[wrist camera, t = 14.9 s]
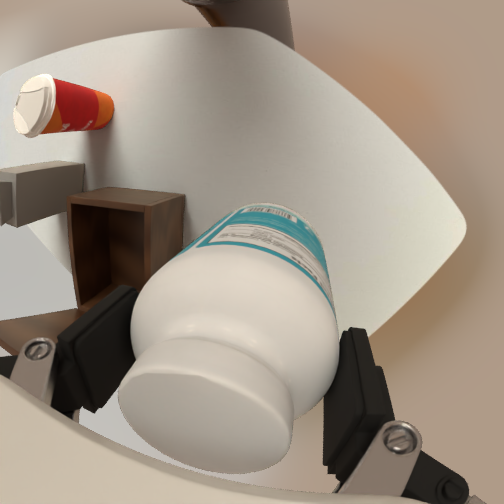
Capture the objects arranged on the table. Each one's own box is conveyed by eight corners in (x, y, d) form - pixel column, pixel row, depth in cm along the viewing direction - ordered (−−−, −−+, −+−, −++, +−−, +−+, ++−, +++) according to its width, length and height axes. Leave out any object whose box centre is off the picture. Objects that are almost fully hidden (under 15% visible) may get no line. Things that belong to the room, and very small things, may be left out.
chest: (108, 186, 37) (66, 196, 29) (185, 194, 35) (151, 205, 27) (111, 284, 42) (77, 309, 34) (181, 302, 40) (153, 335, 32)
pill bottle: (239, 319, 21) (167, 485, 8) (193, 226, 19) (36, 340, 6) (340, 288, 18) (367, 478, 6) (299, 181, 17) (279, 257, 4)
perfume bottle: (81, 206, 39) (-10, 237, 22) (55, 200, 40) (-29, 227, 23) (84, 163, 37) (-13, 179, 20) (57, 160, 37) (-31, 175, 20)
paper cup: (75, 127, 35) (5, 128, 22) (94, 82, 32) (25, 68, 19) (107, 144, 35) (33, 147, 22) (128, 94, 32) (56, 78, 19)
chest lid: (-19, 323, 17) (-15, 368, 17) (58, 378, 15) (64, 429, 15) (76, 308, 33) (74, 341, 33) (152, 334, 32) (149, 371, 32)
